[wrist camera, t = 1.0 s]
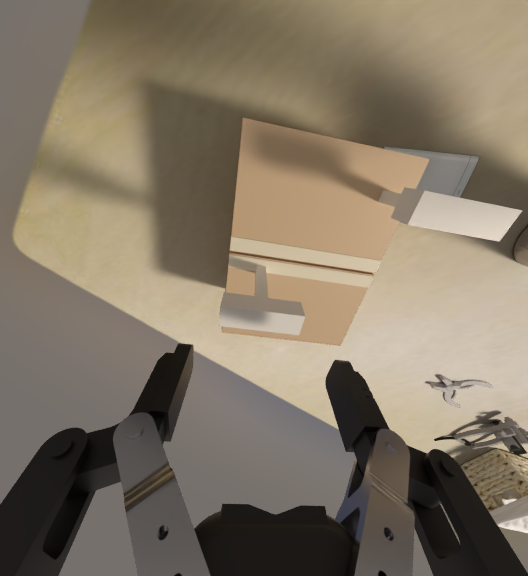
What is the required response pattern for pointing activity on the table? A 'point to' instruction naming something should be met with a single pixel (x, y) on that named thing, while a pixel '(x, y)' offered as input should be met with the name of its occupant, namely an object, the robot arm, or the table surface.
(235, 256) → the right flap
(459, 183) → the hard drive
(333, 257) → the carton
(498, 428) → the bike brake
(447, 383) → the pliers
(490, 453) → the storage basket
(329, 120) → the table surface
